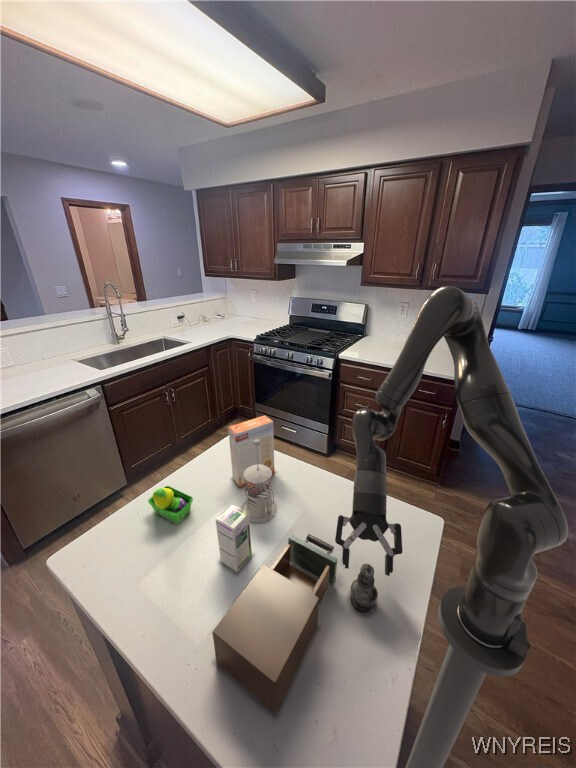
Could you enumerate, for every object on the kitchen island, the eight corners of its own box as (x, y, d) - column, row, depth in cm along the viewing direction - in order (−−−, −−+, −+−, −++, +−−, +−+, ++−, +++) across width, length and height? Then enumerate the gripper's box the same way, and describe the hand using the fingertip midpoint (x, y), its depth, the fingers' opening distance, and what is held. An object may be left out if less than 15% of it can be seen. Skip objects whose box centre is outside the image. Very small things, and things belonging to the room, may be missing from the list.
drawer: (299, 543, 83) (300, 521, 80) (342, 566, 77) (345, 544, 74) (255, 607, 68) (254, 583, 65) (305, 642, 62) (306, 617, 59)
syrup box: (237, 573, 76) (234, 529, 70) (219, 561, 79) (215, 518, 73) (252, 555, 80) (250, 513, 75) (234, 545, 83) (231, 503, 78)
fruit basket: (196, 510, 94) (192, 480, 90) (173, 532, 87) (168, 500, 82) (169, 497, 99) (163, 468, 94) (145, 516, 92) (138, 486, 87)
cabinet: (264, 592, 72) (263, 563, 68) (317, 627, 65) (319, 597, 61) (216, 662, 59) (212, 631, 56) (275, 714, 53) (275, 683, 49)
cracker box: (266, 464, 115) (265, 414, 107) (275, 472, 111) (274, 421, 102) (231, 478, 108) (227, 425, 100) (239, 488, 103) (235, 433, 95)
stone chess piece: (344, 593, 72) (348, 556, 67) (366, 585, 74) (372, 548, 69) (357, 619, 67) (363, 581, 62) (381, 610, 68) (388, 572, 64)
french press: (263, 493, 101) (262, 426, 91) (285, 515, 93) (286, 445, 83) (236, 507, 95) (232, 437, 86) (257, 532, 87) (254, 458, 77)
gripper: (398, 497, 75) (397, 574, 69) (338, 489, 78) (333, 563, 72) (405, 496, 68) (405, 581, 62) (339, 487, 71) (333, 568, 65)
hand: (366, 571), depth 67 cm, fingers open, 8 cm apart
